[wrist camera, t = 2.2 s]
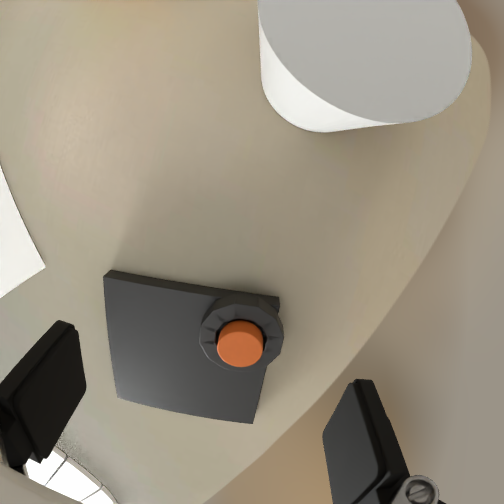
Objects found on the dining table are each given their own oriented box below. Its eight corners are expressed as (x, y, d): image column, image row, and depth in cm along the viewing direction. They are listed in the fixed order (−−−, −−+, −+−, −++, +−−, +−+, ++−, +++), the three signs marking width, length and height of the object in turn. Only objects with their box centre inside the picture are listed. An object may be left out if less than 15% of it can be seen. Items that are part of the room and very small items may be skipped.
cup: (380, 43, 18) (468, -20, 6) (365, 144, 20) (462, 152, 9) (270, 17, 18) (276, -84, 6) (252, 120, 20) (238, 92, 9)
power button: (266, 323, 22) (266, 335, 21) (259, 357, 23) (258, 370, 22) (221, 316, 22) (219, 328, 21) (217, 351, 23) (215, 364, 22)
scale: (287, 291, 24) (290, 311, 22) (258, 414, 29) (257, 436, 26) (109, 263, 24) (93, 278, 21) (121, 389, 29) (112, 408, 26)
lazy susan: (-34, 431, 42) (-40, 439, 39) (-42, 359, 32) (-53, 370, 28) (90, 520, 50) (87, 529, 47) (147, 498, 39) (143, 513, 36)
